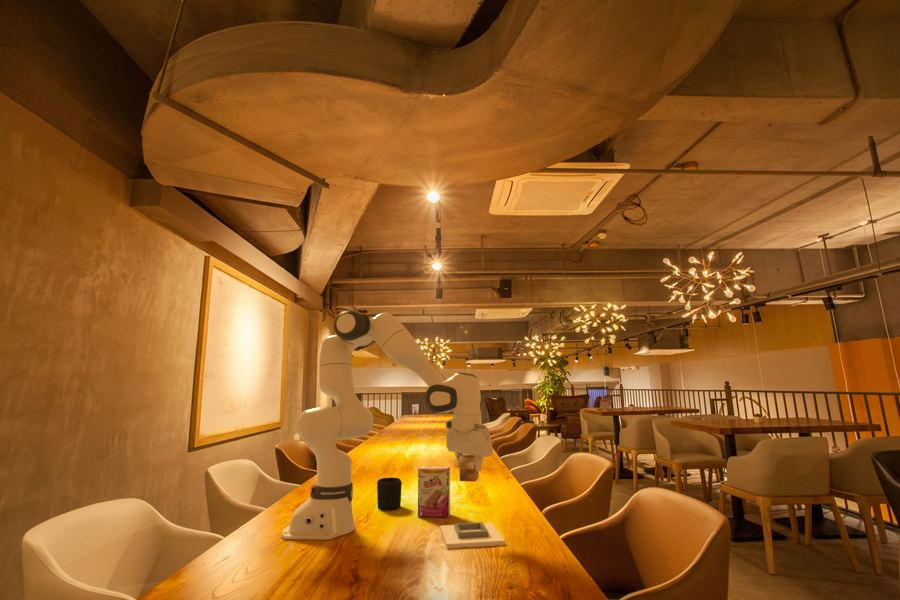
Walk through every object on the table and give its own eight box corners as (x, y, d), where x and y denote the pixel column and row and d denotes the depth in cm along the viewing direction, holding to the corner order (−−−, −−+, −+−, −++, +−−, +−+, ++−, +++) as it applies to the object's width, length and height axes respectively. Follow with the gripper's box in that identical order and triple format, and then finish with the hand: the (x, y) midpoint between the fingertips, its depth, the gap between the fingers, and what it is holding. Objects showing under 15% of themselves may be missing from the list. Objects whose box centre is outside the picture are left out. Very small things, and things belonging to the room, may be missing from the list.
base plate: (446, 548, 125) (446, 538, 126) (440, 529, 142) (440, 520, 142) (505, 545, 127) (504, 535, 128) (491, 526, 144) (491, 517, 145)
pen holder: (406, 506, 170) (406, 478, 172) (390, 512, 162) (391, 483, 164) (387, 503, 175) (387, 476, 177) (371, 508, 167) (372, 481, 169)
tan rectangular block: (459, 481, 136) (459, 457, 137) (463, 478, 141) (462, 455, 142) (475, 481, 135) (474, 457, 136) (478, 478, 139) (477, 455, 141)
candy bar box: (417, 517, 155) (417, 468, 158) (419, 513, 160) (419, 466, 163) (449, 518, 154) (448, 468, 157) (450, 514, 159) (449, 466, 162)
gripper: (496, 424, 135) (498, 472, 132) (457, 421, 151) (459, 464, 148) (480, 425, 131) (481, 475, 128) (442, 422, 148) (443, 466, 145)
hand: (469, 469), depth 138 cm, fingers closed on tan rectangular block, 7 cm apart
